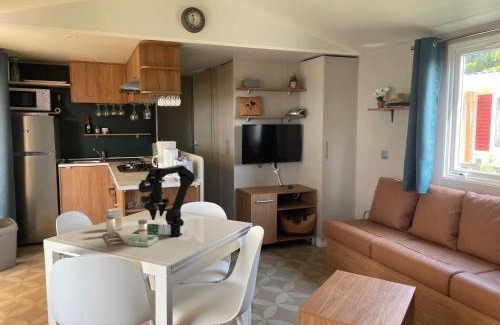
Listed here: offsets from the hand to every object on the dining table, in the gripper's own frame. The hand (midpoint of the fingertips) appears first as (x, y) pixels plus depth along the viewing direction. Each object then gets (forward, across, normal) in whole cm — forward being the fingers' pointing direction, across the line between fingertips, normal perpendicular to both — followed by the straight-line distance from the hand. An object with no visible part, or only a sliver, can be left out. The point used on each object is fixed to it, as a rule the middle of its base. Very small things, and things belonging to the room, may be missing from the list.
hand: (157, 218), depth 213 cm
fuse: (+13, -3, -31) cm, 33 cm away
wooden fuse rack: (+13, +2, -24) cm, 28 cm away
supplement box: (+13, -16, -37) cm, 42 cm away
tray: (+13, +5, -6) cm, 15 cm away
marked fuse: (+12, +5, -6) cm, 15 cm away
